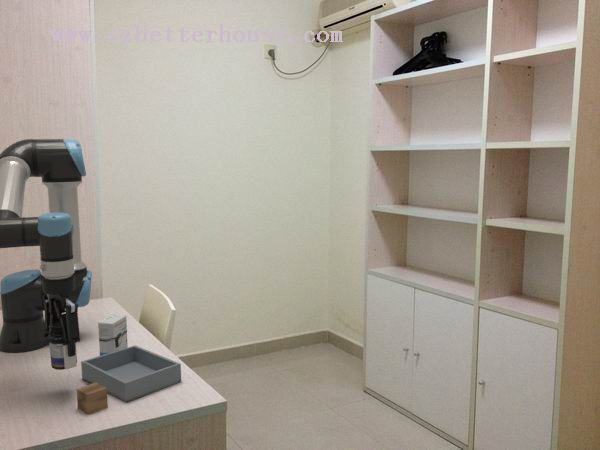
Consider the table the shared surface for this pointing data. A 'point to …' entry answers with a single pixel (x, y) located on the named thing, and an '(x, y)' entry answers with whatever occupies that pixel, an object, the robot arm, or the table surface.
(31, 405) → the table surface
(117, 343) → the ink box
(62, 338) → the pill bottle
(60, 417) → the table surface
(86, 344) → the table surface
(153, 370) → the tote
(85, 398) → the walnut cube
